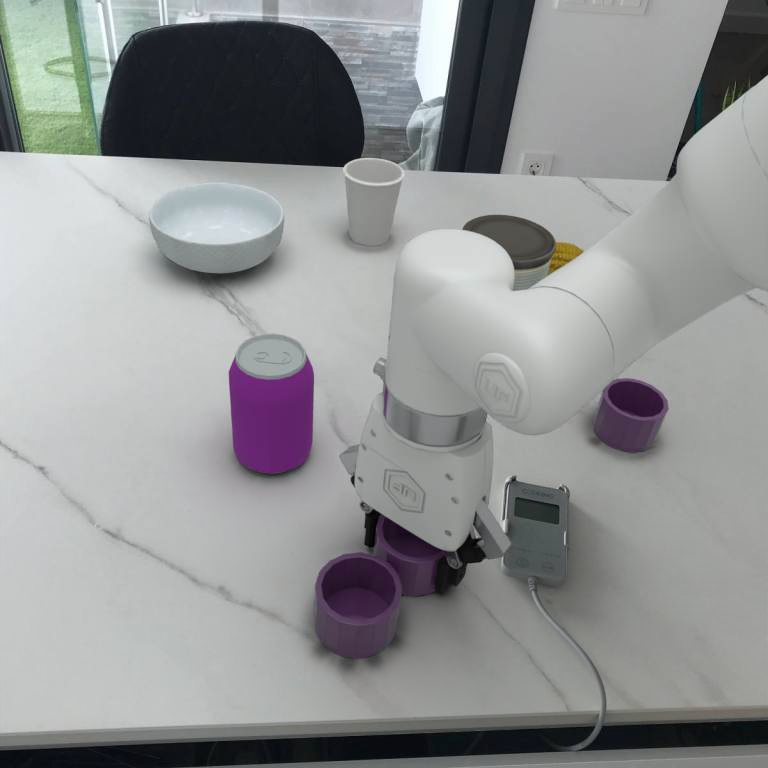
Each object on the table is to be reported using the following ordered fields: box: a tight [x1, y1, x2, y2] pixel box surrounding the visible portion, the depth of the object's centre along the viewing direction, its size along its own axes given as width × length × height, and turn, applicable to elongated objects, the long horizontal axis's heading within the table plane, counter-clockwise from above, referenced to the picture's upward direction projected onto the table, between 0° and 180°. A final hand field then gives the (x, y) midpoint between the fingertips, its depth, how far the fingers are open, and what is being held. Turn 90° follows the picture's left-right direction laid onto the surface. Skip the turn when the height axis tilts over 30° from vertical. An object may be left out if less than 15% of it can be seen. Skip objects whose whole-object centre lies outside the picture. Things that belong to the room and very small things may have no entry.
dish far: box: [592, 377, 670, 453], centre depth 81 cm, size 7×7×4 cm
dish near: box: [313, 551, 403, 659], centre depth 61 cm, size 7×7×4 cm
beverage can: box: [228, 333, 315, 475], centre depth 72 cm, size 8×8×12 cm
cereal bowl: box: [148, 181, 285, 275], centre depth 101 cm, size 17×17×7 cm
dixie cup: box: [342, 157, 406, 247], centre depth 108 cm, size 8×8×10 cm
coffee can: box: [461, 214, 557, 291], centre depth 89 cm, size 10×10×14 cm
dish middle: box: [372, 514, 445, 597], centre depth 65 cm, size 7×7×4 cm
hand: (412, 558), depth 66 cm, fingers closed on dish middle, 6 cm apart
